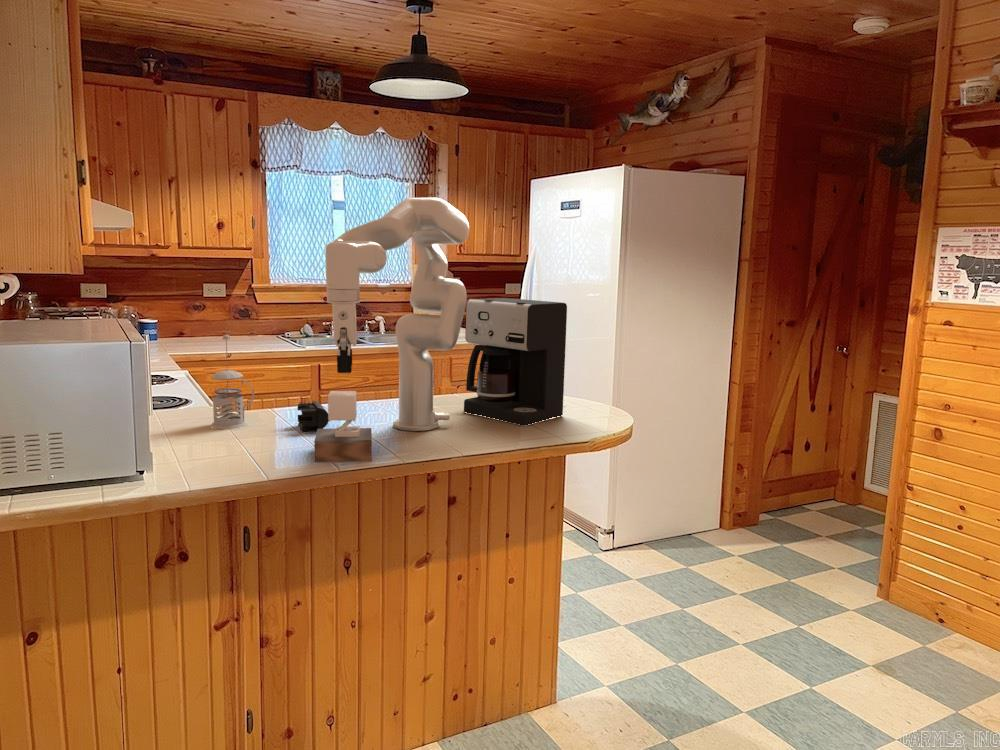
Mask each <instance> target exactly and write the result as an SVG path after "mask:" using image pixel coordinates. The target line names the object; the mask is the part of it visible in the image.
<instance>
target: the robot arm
mask: <svg viewBox="0 0 1000 750" xmlns="http://www.w3.org/2000/svg"><path fill="white" fill-rule="evenodd" d="M469 224H470V223H469V221H468V219H467V217H466V216H465V214H464V213H462V212H461V211H460V210H458V209H457V208H456V207H454V206H453V205H451V203H450V202H447V201H446V200H444V199H441V198H439V197H409V198H406V199H403V200H402V201H400V202H399V203H398V204H397V205H395V206H394V207H393V208H391V209H390V210H389V211H388V212H386V213H385V214H384V215H382V216H381V217H380V218H378V219H374V220H371V221H369V222H367V223H363V224H361V225H358V226H355V227H353V228H351V229H349V230H346V231H345V232H344V233H342V234H341V235H339V236H338V237H337V238H335V239H334V241H333V242H329V243H328V244H327V245H326V246H325V276H326V277H325V280H326V303H327V304H331V306H332V310H331V311H332V327H333V328H332V329H333V330H332V331H333V339H334V340H333V341H334V345H335V346H336V347H337V355H336V366H337V367H336V371H337V374H351V373H352V371H353V370H352V369H353V368H352V367H353V366H352V365H353V348H352V346H353V347H356V346H357V341H358V339H357V338H358V337H357V336H358V335H357V334H358V333H357V330H358V329H357V310H356V309H357V307H356V304H360V303H361V299H360V298H361V296H360V295H361V294H360V293H361V292H360V291H361V290H360V274H376V273H378V272H380V271H382V270H383V269H384V267H385V265H386V263H387V260H388V259H387V258H388V256H387V252H386V251H390V250H393V249H397V248H400V247H401V246H403V245H404V244H405V243H406V242H407V241H408V240H410V239H412V241H413V244H414V247H415V250H416V254H417V266H416V271H415V274H414V277H413V282H412V286H411V290H410V295H409V303H410V305H411V307H412V308H413V309H415V310H416V311H419V312H427V313H408V314H404V315H402V316H401V317H399V318H398V320H397V321H396V324H395V337H396V343H397V348H398V350H397V351H398V377H399V378H398V419H396V420H394V421H393V424H392V425H393V427H394V428H395V429H397V430H401V431H406V432H408V431H409V432H424V431H431V430H435V429H438V427H439V421H450V413H445V412H437V411H435V408H434V370H435V368H434V362H433V358H432V356H431V354H430V352H429V351H428V350H431V351H433V350H434V351H441V352H442V351H443V352H444V351H446V352H447V351H450V350H453V348H454V347H455V346H456V344H457V342H458V340H459V336H460V331H461V328H462V323H463V319H464V314H465V312H466V303H467V301H468V300H467V289H466V287H465V284H464V283H463V282H462V281H461V280H459V279H455V278H446V277H447V274H448V267H449V263H448V260H447V257H446V255H445V253H444V252H443V251H442V249H441V248H440V246H441V245H442V246H443V245H445V246H446V245H447V246H448V245H449V246H450V245H451V246H457V245H462V244H464V243H465V242H466V241H467V240H468V237H469V233H470V225H469ZM428 313H436V314H428ZM437 313H438V314H437Z"/></svg>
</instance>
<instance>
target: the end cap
mask: <svg viewBox="0 0 1000 750" xmlns="http://www.w3.org/2000/svg"><path fill="white" fill-rule="evenodd" d="M297 411H301V414H298V415H297V422H298V424H297V427H298V428H299V427H300V428H299V429H300V431H301V433H303V432H306V433H317V429H325V428H326V427H327V425H328V424H329V422H330V421H328V411H327V410H326V408H324V406H323V405H322V404H321V403H320V402H319V401H316V400H311V402H310V403H298V404H297Z"/></svg>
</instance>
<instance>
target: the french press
mask: <svg viewBox="0 0 1000 750" xmlns="http://www.w3.org/2000/svg"><path fill="white" fill-rule="evenodd" d="M222 340H225V347H226V348H225V350H226V351H225V353H226V359H228V340H230V335H229V334H223V336H222ZM243 377H244V375H243V374H242V373H241V372H239V371H236V370H232V369H229V368H228V363H226V369H224V370H220V371H217V372H215V373H214V374H212V376H211V379H213V380H216V381H226V384H227V385H226V387H224V388H222V387H221V388H217V389H214V390H213V393H214V395H213V396H212V402H213V403H212V407H213V412H212V413H213V421H212V423H211V424H210V426H211V427H213V428H212V429H214V428H218V429H217V430H235V428H237V429H240V427H242V428H245V427H247V426H248V425H247V424H248V423H247V422H246V421H245V408H246V407H248V406H250V404H252V403H253V401H254V398H255V391H254V388H253V386H252V384H251V383H250V382H249V381H247V380H245V379H242V378H243ZM240 379H242V380H241V386H243V387H244V383H246V384H248V385H249V386H250V387H251V398H250V400H249V401H248V402H247V403H245V404H244V396H243V394H241V392H242V389H241V388H234V387H231V388H229V381H233V380H234V381H235V380H240ZM233 403H235V404H233ZM219 407H220V408H219ZM236 408H237V409H236ZM235 412H236V413H235ZM246 425H247V426H246ZM244 426H245V427H244ZM211 427H210V428H211Z"/></svg>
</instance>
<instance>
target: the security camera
mask: <svg viewBox="0 0 1000 750" xmlns="http://www.w3.org/2000/svg"><path fill="white" fill-rule="evenodd" d="M327 410H328V411H327V413H328V421H329V422H332V421H345V422H344V423H342V424H341V426H340V425H338V426H336V428H335V429H336V430H335V437H359V433H360V428H361V426H358V425H357V426H353V425H350V424H351V423H353V422H356V419H357V391H356V390H345V391H344V390H330V391H329V393H328V395H327Z"/></svg>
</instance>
